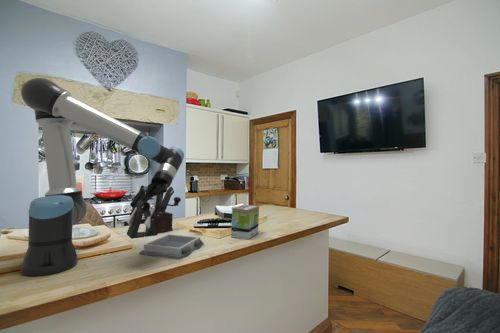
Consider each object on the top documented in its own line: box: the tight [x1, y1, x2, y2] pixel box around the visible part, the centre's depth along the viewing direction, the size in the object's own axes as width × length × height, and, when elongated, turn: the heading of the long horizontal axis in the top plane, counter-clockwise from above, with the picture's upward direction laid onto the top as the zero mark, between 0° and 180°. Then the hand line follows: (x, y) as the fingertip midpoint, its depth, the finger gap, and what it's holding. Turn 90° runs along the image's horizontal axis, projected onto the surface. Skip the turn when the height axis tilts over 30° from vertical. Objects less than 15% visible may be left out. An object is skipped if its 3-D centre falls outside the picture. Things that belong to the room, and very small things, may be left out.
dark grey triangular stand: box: [126, 200, 159, 239], centre depth 91 cm, size 9×6×12 cm, turn 127°
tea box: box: [230, 204, 260, 240], centre depth 133 cm, size 15×10×15 cm, turn 161°
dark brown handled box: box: [145, 196, 182, 235], centre depth 140 cm, size 16×11×18 cm
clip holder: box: [138, 233, 204, 260], centre depth 107 cm, size 19×20×4 cm
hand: (138, 225), depth 89 cm, fingers closed on dark grey triangular stand, 6 cm apart
